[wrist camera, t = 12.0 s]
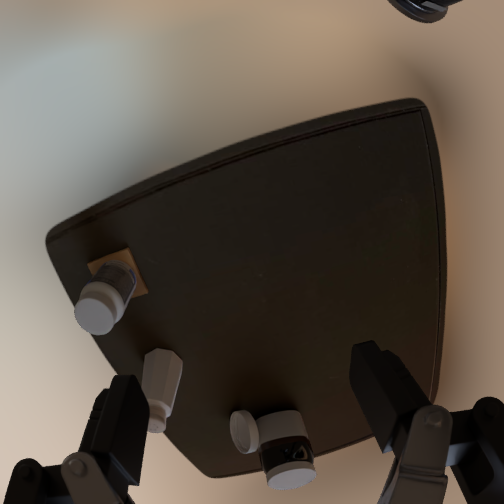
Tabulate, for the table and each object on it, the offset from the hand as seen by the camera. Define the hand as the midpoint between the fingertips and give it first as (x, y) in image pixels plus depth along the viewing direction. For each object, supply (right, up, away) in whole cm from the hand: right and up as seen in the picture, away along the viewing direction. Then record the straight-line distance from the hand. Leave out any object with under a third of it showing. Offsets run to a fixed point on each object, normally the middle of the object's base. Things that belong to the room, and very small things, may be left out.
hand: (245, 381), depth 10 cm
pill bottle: (-15, +2, +22) cm, 27 cm away
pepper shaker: (-11, -10, +27) cm, 31 cm away
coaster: (-15, +2, +22) cm, 27 cm away
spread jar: (+2, -22, +33) cm, 40 cm away
